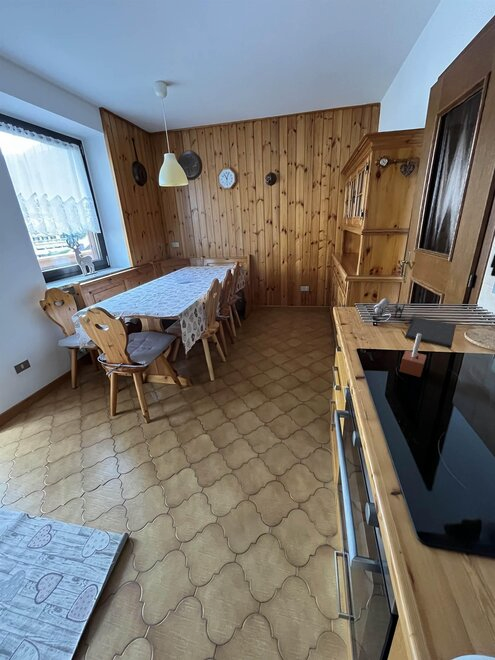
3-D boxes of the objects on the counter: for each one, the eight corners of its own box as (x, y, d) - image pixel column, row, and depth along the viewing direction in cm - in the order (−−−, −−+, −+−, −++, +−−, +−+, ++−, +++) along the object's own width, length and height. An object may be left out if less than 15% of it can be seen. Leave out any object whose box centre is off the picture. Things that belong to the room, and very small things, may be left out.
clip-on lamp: (390, 332, 121) (406, 310, 131) (393, 320, 117) (409, 299, 127) (364, 322, 128) (380, 303, 137) (366, 311, 124) (382, 292, 133)
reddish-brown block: (423, 368, 92) (426, 355, 90) (420, 377, 88) (423, 364, 86) (403, 362, 96) (405, 350, 93) (399, 371, 91) (402, 358, 89)
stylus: (413, 369, 92) (422, 334, 86) (412, 371, 91) (421, 335, 85) (408, 368, 93) (417, 333, 87) (408, 369, 92) (416, 334, 86)
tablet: (457, 327, 116) (458, 324, 115) (453, 348, 102) (454, 345, 101) (413, 319, 125) (414, 316, 124) (404, 337, 111) (405, 335, 110)
